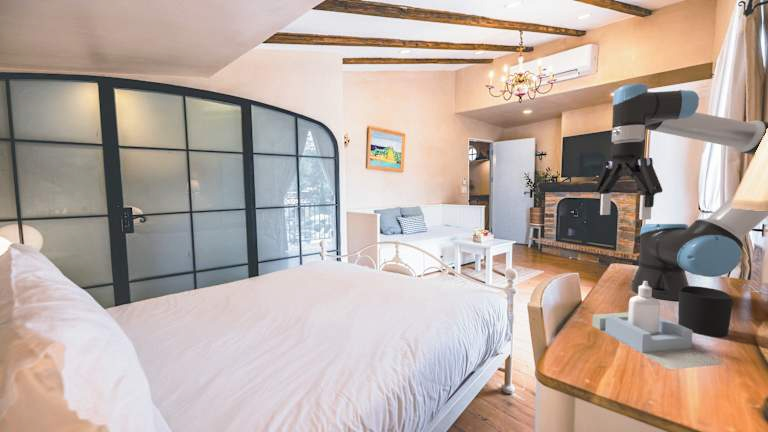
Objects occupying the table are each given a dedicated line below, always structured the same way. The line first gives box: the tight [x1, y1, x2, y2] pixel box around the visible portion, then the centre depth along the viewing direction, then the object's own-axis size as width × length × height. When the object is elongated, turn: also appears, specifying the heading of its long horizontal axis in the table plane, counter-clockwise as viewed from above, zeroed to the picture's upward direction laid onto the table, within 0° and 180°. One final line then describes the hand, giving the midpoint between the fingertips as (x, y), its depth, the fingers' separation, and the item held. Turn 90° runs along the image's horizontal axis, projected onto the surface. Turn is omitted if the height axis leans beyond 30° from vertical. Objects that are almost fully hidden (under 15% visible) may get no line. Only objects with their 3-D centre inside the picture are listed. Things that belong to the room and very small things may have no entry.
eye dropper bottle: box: [628, 281, 661, 334], centre depth 76 cm, size 4×6×12 cm
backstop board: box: [591, 311, 724, 370], centre depth 74 cm, size 13×20×4 cm, turn 7°
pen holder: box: [677, 285, 734, 338], centre depth 80 cm, size 9×9×10 cm
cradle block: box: [605, 315, 693, 353], centre depth 75 cm, size 12×10×4 cm
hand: (623, 217), depth 95 cm, fingers open, 13 cm apart
